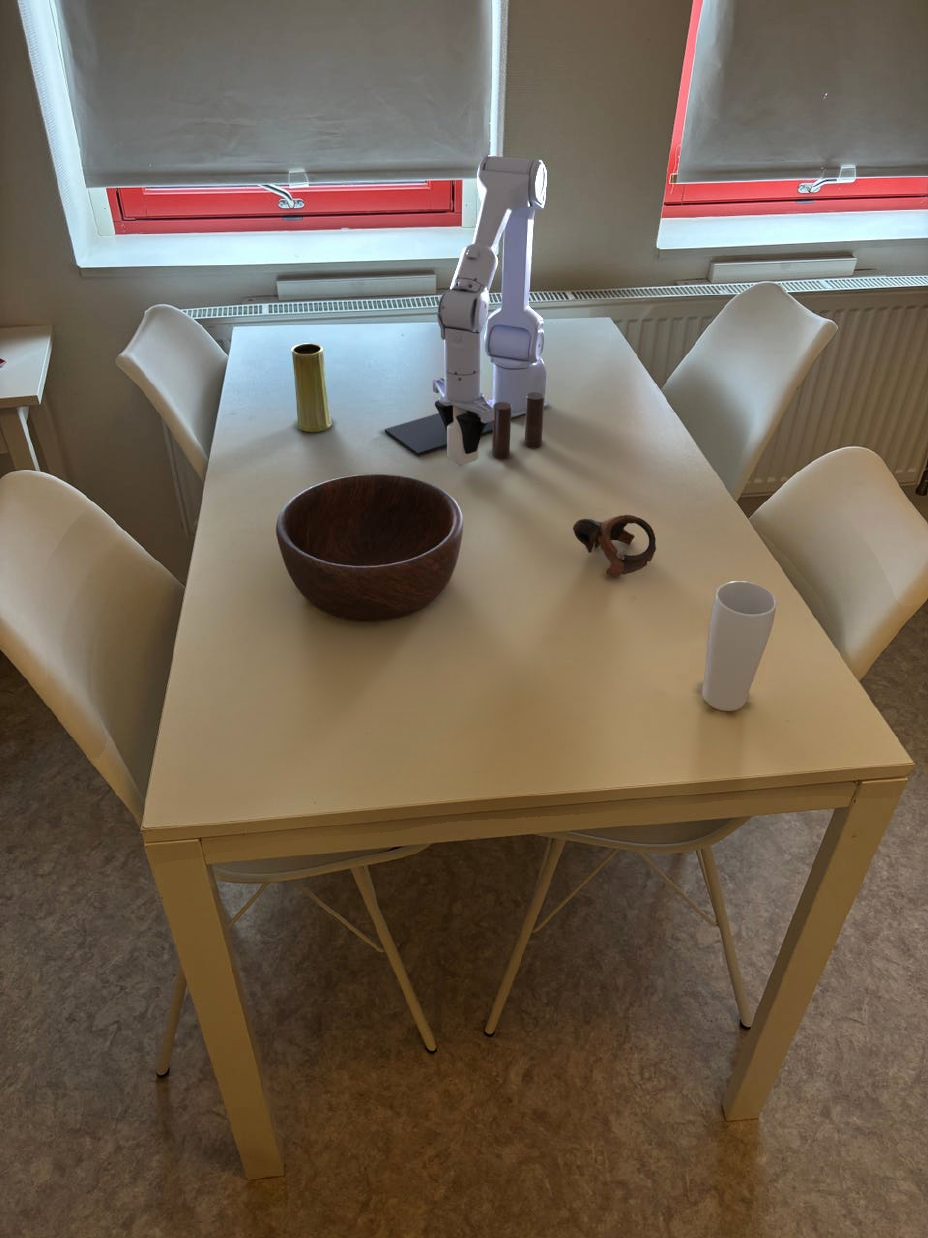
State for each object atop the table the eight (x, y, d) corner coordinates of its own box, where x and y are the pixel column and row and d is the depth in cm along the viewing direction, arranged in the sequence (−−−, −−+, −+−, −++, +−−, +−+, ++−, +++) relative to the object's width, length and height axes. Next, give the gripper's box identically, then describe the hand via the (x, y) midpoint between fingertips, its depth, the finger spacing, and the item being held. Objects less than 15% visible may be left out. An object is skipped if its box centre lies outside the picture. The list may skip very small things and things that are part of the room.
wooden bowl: (264, 554, 140) (255, 492, 133) (424, 519, 148) (423, 459, 141) (312, 655, 121) (304, 588, 115) (492, 608, 129) (494, 544, 123)
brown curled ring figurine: (649, 545, 143) (667, 518, 135) (635, 599, 139) (653, 575, 131) (573, 519, 143) (587, 491, 135) (556, 572, 139) (570, 547, 131)
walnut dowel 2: (534, 438, 169) (536, 390, 164) (545, 444, 167) (548, 396, 162) (520, 442, 168) (523, 394, 162) (531, 449, 166) (533, 400, 160)
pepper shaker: (461, 467, 158) (461, 414, 152) (445, 458, 160) (445, 405, 154) (479, 459, 160) (480, 407, 154) (463, 451, 162) (464, 398, 156)
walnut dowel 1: (502, 448, 166) (504, 400, 161) (513, 455, 164) (514, 406, 159) (488, 453, 165) (489, 404, 159) (498, 460, 163) (500, 411, 157)
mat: (467, 407, 179) (467, 404, 179) (502, 429, 172) (502, 426, 172) (384, 432, 171) (384, 428, 171) (418, 456, 164) (418, 453, 163)
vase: (334, 418, 175) (328, 342, 166) (327, 433, 170) (320, 356, 162) (301, 416, 176) (293, 341, 167) (293, 431, 171) (285, 354, 162)
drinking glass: (688, 681, 118) (707, 581, 109) (742, 678, 118) (765, 578, 109) (703, 719, 112) (725, 617, 103) (760, 716, 113) (786, 614, 104)
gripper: (416, 358, 153) (418, 435, 161) (468, 390, 144) (468, 470, 152) (452, 348, 156) (453, 425, 164) (506, 379, 147) (503, 458, 155)
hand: (462, 446), depth 158 cm, fingers closed on pepper shaker, 4 cm apart
